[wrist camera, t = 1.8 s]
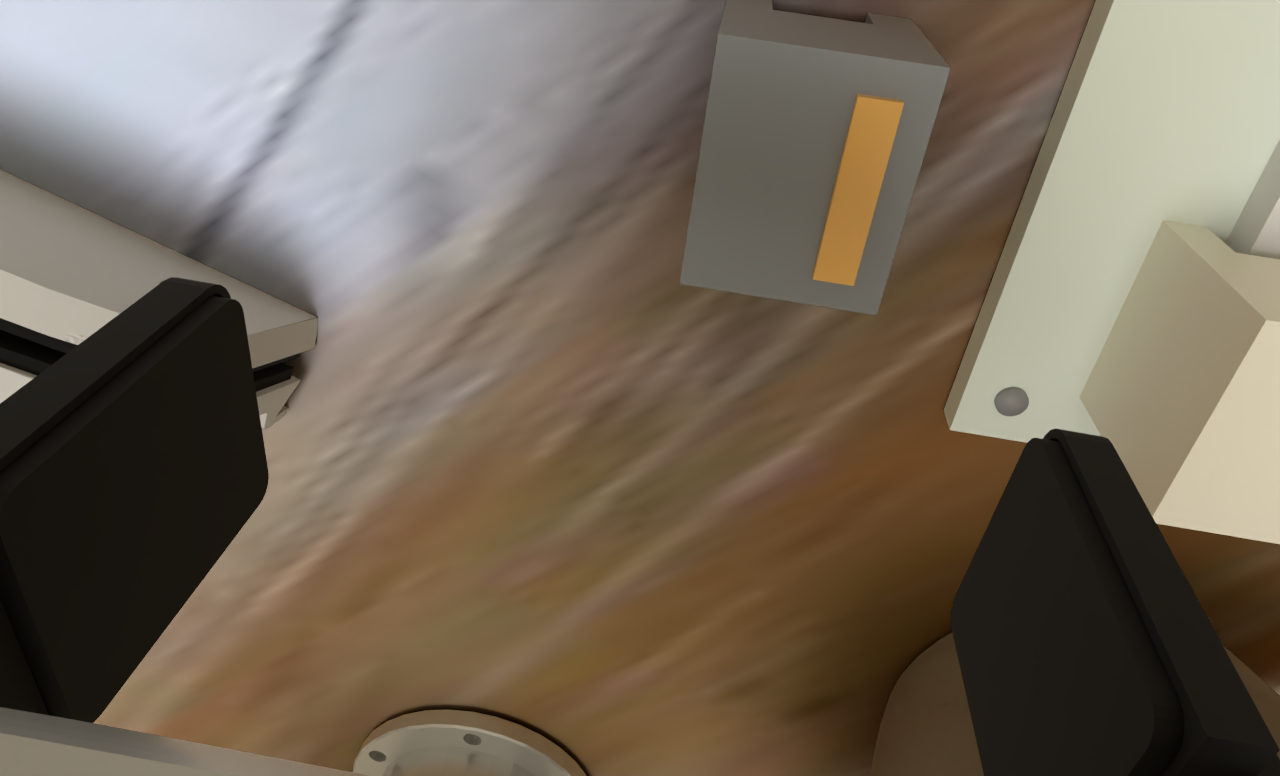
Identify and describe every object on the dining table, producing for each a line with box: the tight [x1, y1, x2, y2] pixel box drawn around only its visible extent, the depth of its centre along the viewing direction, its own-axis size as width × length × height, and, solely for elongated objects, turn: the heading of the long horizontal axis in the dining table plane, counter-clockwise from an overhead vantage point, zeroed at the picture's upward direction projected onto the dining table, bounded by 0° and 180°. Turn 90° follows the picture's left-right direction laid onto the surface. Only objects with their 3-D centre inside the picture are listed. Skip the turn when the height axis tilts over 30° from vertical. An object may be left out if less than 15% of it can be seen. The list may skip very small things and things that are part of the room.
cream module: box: [1080, 220, 1280, 544], centre depth 23 cm, size 6×5×6 cm
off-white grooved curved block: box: [0, 170, 318, 429], centre depth 27 cm, size 17×5×10 cm, turn 64°
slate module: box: [679, 0, 950, 315], centre depth 23 cm, size 6×5×6 cm
